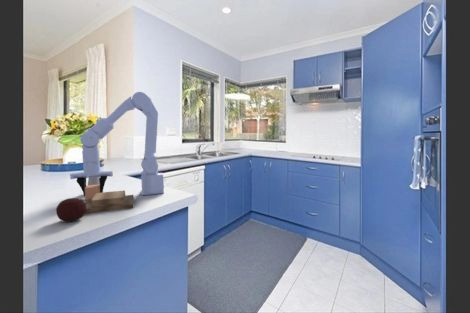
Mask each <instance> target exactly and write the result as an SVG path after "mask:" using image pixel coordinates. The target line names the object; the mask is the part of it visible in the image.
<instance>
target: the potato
mask: <svg viewBox="0 0 470 313" xmlns="http://www.w3.org/2000/svg"><path fill="white" fill-rule="evenodd" d="M85 203H86V202H85V201H84V200H83V199H82V198H81V199H80V198H77V197H72V198H66V199H63V200H62V201H59V203H58V204H57V206H56V210H55V211H56V217H57V218H58V219H59V220H60V221H62V222H74V221H77V220H79V219H81V218H82V217H83V216H85V213H86V204H85Z"/></svg>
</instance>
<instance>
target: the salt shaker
mask: <svg viewBox="0 0 470 313" xmlns="http://www.w3.org/2000/svg"><path fill="white" fill-rule="evenodd" d="M96 176H98V175H96ZM99 178H100V177H91V178H87V179H88V180H87V185H99V184H100V182H99Z"/></svg>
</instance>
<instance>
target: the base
mask: <svg viewBox="0 0 470 313" xmlns="http://www.w3.org/2000/svg"><path fill="white" fill-rule="evenodd" d="M85 201H86V202H85V204H86V213H85V214H86V215H87V214H93V213H94V214H95V213H101V212H102V213H103V212H111V211H112V212H113V211H120V210H129V209H130V210H131V209H134V201H135V200H134V194H128V195H127V194H126V190H114V191H113V190H112V191H103V192H102V193H96V194H95V196H94V197H93V199H88V200H85ZM85 214H84V215H85Z"/></svg>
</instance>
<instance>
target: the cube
mask: <svg viewBox="0 0 470 313" xmlns="http://www.w3.org/2000/svg"><path fill="white" fill-rule="evenodd" d="M96 193H100V184H99V185H88V184H86V187H85V196H84V198H85V199H84V200H85V201H87V200H88V199H93V197H94V196H95V194H96Z"/></svg>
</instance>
